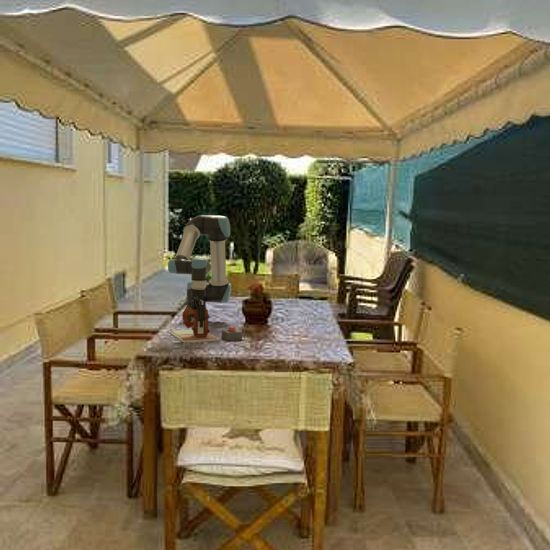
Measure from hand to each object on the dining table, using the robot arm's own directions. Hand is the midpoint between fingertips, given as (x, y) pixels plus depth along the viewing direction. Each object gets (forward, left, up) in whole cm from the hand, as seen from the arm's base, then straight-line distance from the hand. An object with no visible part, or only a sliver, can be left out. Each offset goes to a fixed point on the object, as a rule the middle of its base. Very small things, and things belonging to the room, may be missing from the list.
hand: (197, 331), depth 326 cm
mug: (-2, 0, -3) cm, 3 cm away
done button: (+3, +18, -1) cm, 18 cm away
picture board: (-6, 0, -4) cm, 8 cm away
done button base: (+3, +18, -4) cm, 19 cm away
